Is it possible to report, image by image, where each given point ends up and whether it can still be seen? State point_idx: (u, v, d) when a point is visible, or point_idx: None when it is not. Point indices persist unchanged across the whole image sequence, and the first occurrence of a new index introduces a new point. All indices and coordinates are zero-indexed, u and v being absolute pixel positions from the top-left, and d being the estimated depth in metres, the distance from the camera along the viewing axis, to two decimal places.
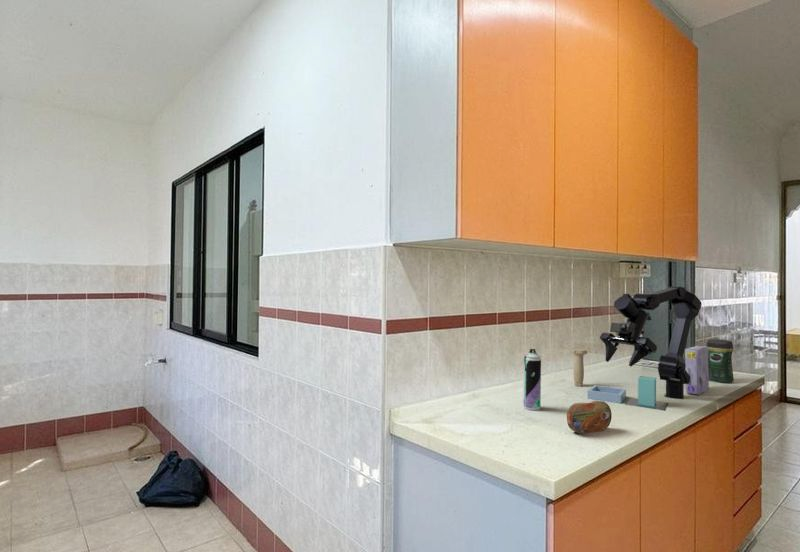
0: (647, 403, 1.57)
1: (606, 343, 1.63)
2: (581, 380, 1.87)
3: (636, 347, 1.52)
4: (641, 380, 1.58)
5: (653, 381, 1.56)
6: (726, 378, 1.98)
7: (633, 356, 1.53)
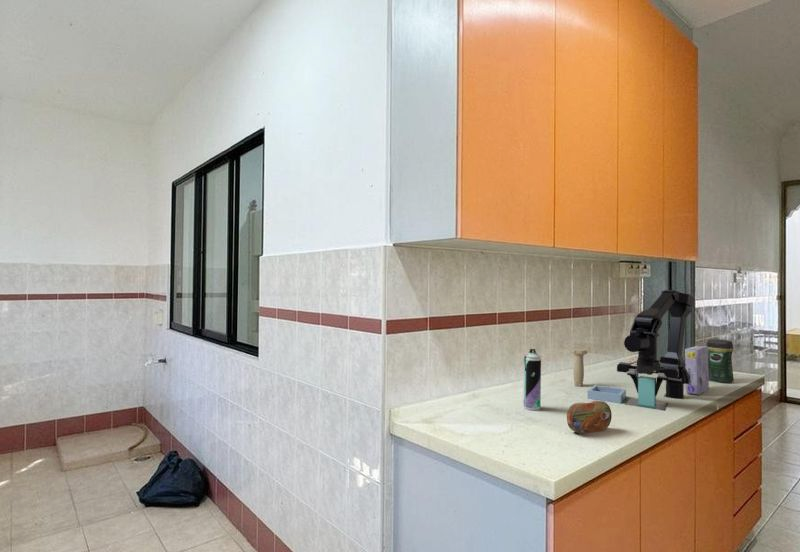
0: (647, 403, 1.57)
1: (633, 377, 1.60)
2: (581, 380, 1.87)
3: (658, 380, 1.55)
4: (641, 380, 1.58)
5: (653, 381, 1.56)
6: (726, 378, 1.98)
7: (657, 387, 1.56)
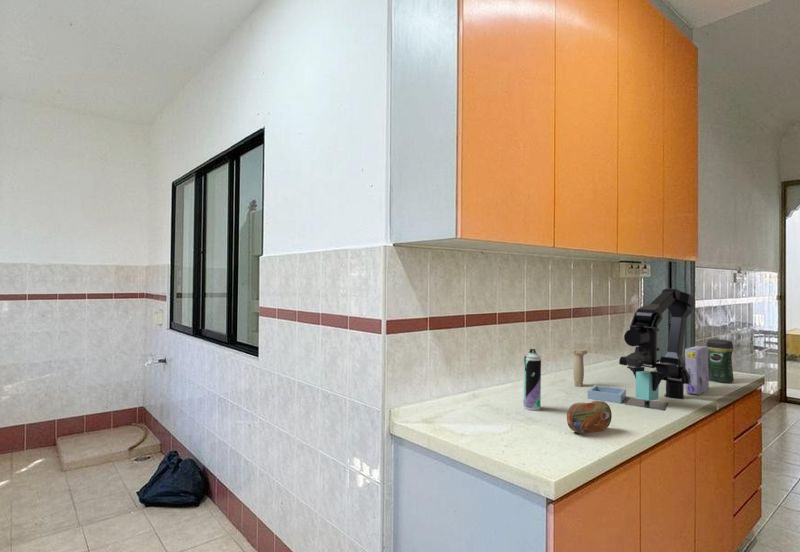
0: (643, 397, 1.58)
1: (632, 370, 1.62)
2: (581, 380, 1.87)
3: (653, 374, 1.55)
4: (638, 374, 1.59)
5: (648, 375, 1.56)
6: (726, 378, 1.98)
7: (654, 382, 1.56)
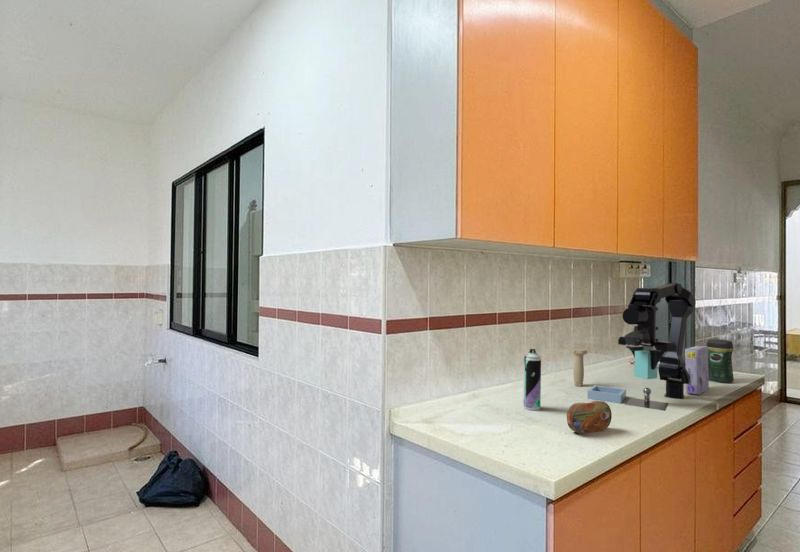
0: (642, 376, 1.58)
1: (631, 350, 1.62)
2: (581, 380, 1.87)
3: (651, 353, 1.55)
4: (637, 353, 1.60)
5: (646, 354, 1.56)
6: (726, 378, 1.98)
7: (652, 361, 1.56)
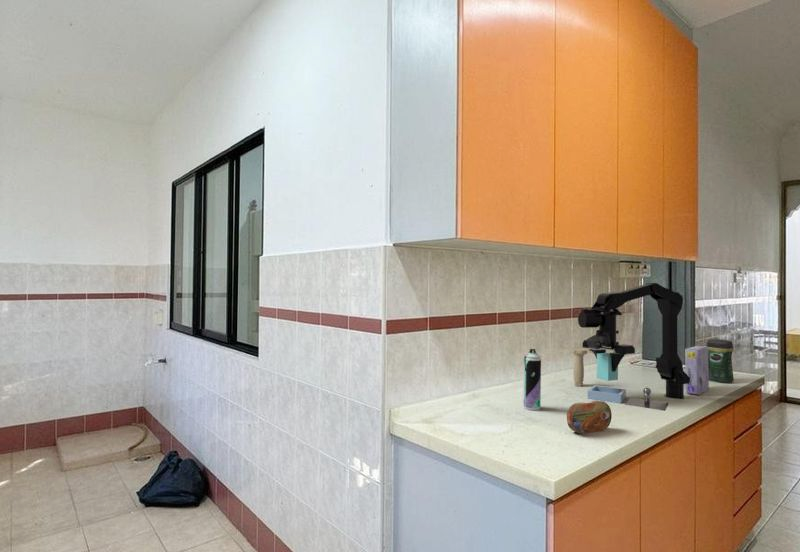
0: (603, 377, 1.65)
1: (594, 352, 1.69)
2: (581, 380, 1.87)
3: (612, 355, 1.62)
4: (599, 355, 1.67)
5: (607, 356, 1.64)
6: (726, 378, 1.98)
7: (613, 363, 1.63)
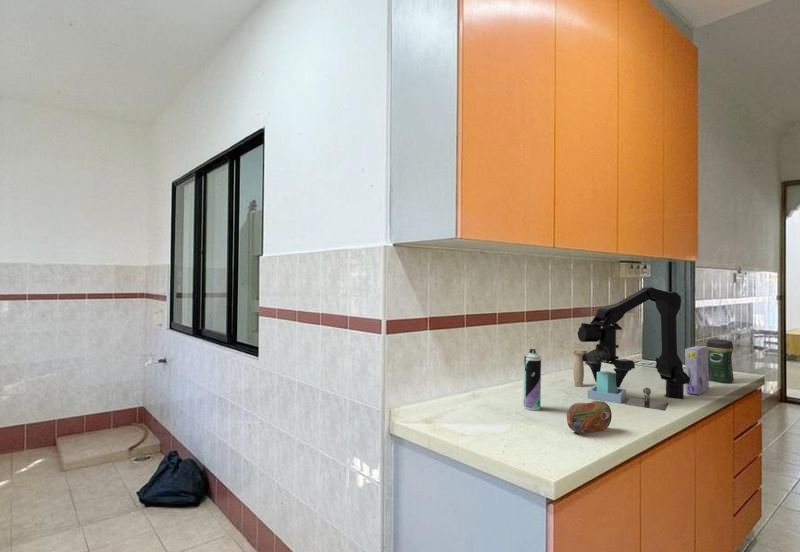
0: None
1: (590, 365, 1.71)
2: (581, 380, 1.87)
3: (616, 371, 1.61)
4: (598, 374, 1.67)
5: (607, 375, 1.64)
6: (726, 378, 1.98)
7: (617, 379, 1.61)
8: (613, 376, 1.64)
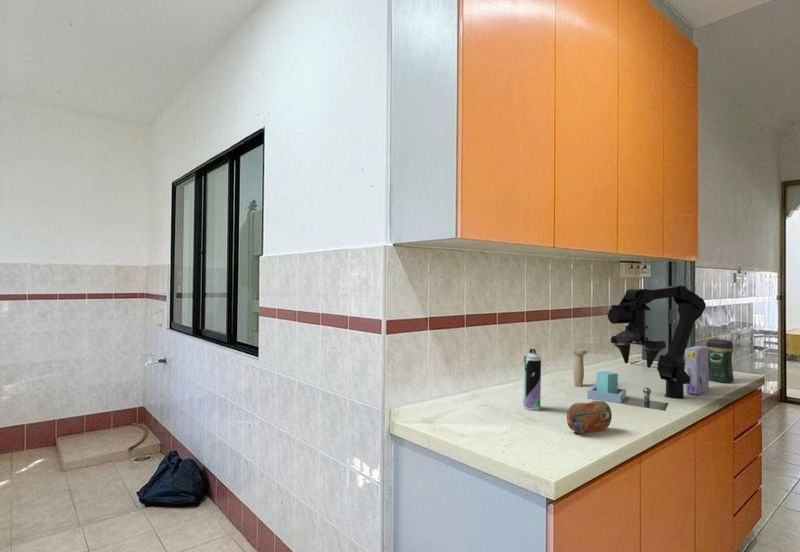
0: None
1: (619, 347, 1.71)
2: (581, 380, 1.87)
3: (647, 351, 1.61)
4: (598, 374, 1.67)
5: (607, 375, 1.64)
6: (726, 378, 1.98)
7: (648, 359, 1.62)
8: (613, 376, 1.64)
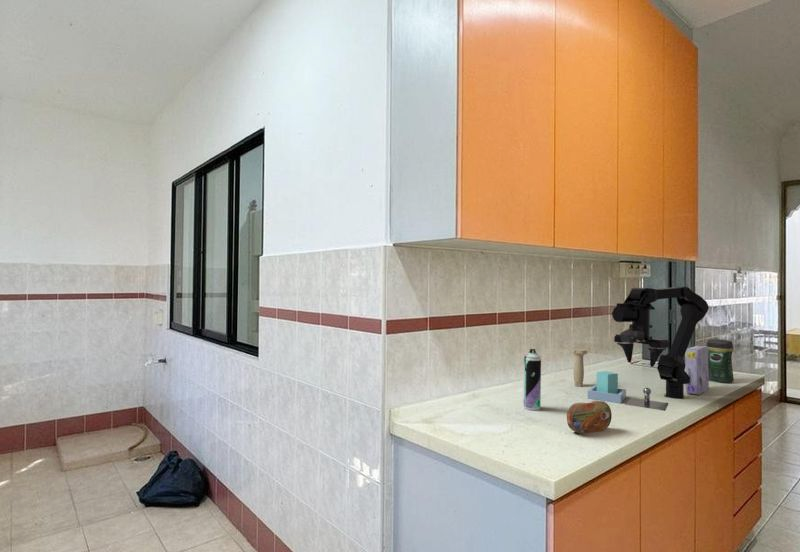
0: None
1: (622, 346, 1.71)
2: (581, 380, 1.87)
3: (651, 350, 1.61)
4: (598, 374, 1.67)
5: (607, 375, 1.64)
6: (726, 378, 1.98)
7: (651, 358, 1.61)
8: (613, 376, 1.64)
